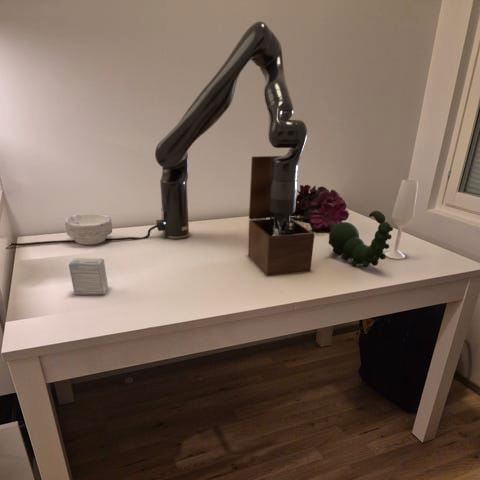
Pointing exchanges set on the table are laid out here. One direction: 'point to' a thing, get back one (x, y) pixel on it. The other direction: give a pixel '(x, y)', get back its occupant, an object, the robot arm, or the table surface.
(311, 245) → the chest
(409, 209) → the champagne flute
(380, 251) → the toy figurine
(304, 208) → the flower arrangement
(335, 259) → the table surface
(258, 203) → the lid
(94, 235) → the white stone bowl
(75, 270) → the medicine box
